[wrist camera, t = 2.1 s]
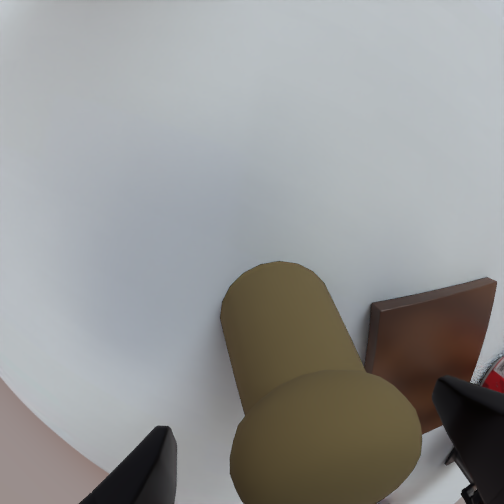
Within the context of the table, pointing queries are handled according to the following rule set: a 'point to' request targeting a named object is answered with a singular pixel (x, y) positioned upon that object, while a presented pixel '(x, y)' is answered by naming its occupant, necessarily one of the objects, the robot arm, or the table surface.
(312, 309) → the cork
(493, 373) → the soda can
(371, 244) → the table surface
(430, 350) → the walnut board
